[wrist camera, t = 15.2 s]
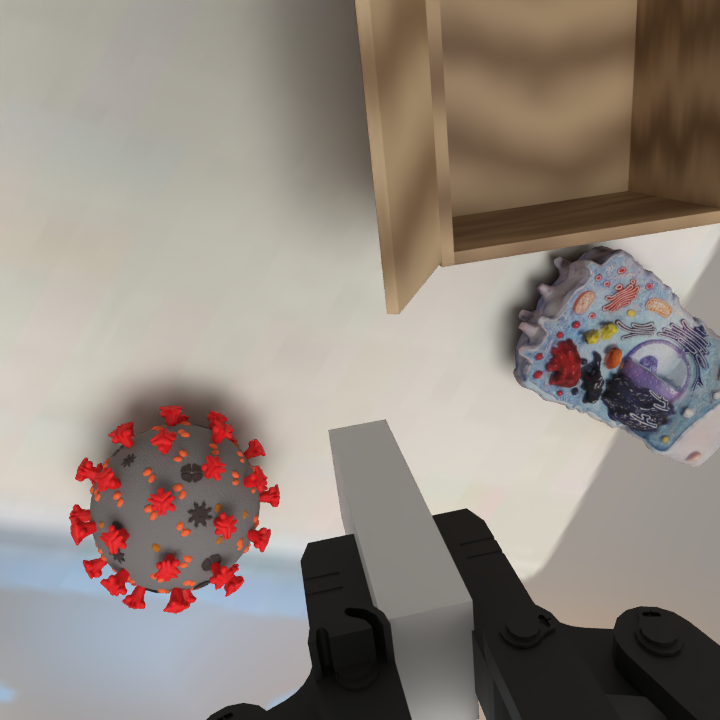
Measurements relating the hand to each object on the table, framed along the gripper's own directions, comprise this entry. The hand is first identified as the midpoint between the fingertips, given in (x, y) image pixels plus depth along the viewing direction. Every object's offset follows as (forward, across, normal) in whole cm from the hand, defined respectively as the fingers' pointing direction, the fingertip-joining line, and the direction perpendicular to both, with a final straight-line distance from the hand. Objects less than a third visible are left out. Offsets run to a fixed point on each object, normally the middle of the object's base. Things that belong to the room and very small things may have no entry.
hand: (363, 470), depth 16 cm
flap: (+18, +7, +11) cm, 22 cm away
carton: (+34, +19, +11) cm, 41 cm away
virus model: (+35, -11, -17) cm, 40 cm away
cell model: (+35, +27, -13) cm, 46 cm away
